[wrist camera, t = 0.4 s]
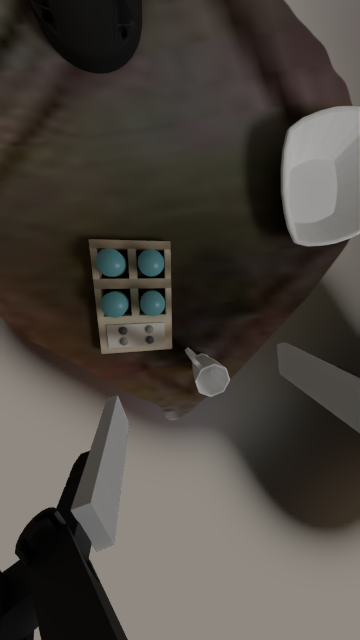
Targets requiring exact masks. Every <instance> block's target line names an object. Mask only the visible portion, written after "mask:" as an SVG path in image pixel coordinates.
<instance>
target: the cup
mask: <svg viewBox="0 0 360 640" xmlns="http://www.w3.org/2000/svg"><path fill="white" fill-rule="evenodd" d="M185 352H186V354H187V355H188V357H189V358H190V359H191V360H192V364H193V373H194V379H195V383H196V385H197V388H198V391H199V393H201V394H204V395H207V396H210V397H212V396H214V395H216V394H219V393H221V392H223V391H224V390H225V388H226V386H227V384H228V382H229V381H230V378H229V375H228V372H227V368H225V367H224V366H223V365H221V364H220V363H218V362H217V361H216V360H214V359H212V358H210V357H209V356H208V355H205V354H203V353H201V354H198V355H196V354H195V353H194V352H193V351H192V350H191V349H189V348H188V347H187V348H186V349H185Z"/></svg>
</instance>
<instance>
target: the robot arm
mask: <svg viewBox="0 0 360 640" xmlns="http://www.w3.org/2000/svg"><path fill="white" fill-rule="evenodd" d="M28 1H29V3H30V5H31V8H32V10H33V12H34V15H35V17H36V19H37V21H38V23H39V25H40V27H41V29H42V31H43V33H44V34H45V36H46V37H47V39H48V40H49V42H50V43H51V44H52V45H53V47H54V48H55V49H56V50H57V51H58V52H59V53H60V54H61V55H62V56H63V57H64V58H65V59H67V60H68V61H69V62H71V63H72V64H74V65H76V66H77V67H79V68H81V69H84V70H86V71H90V72H94V73H108V72H112V71H115V70H117V69H119V68H121V67H123V66H124V65H125V64H126V63H127V62H128V61H129V60H130V59H131V57H132V56H133V54H134V53H135V51H136V49H137V46H138V44H139V40H140V36H141V30H142V0H28ZM277 351H278V362H279V372H280V374H281V375H282V376H284V377H285V378H286V379H288V380H289V381H291V382H292V383H293V384H294V385H296V386H297V387H298V388H300V389H301V390H302V391H304V392H305V393H306V394H308V395H309V396H310V397H312V398H313V399H315V400H316V401H317V402H319V403H320V404H321V405H323V406H324V407H325V408H327V409H328V410H329V411H331V412H332V413H333V414H335V415H336V416H337V417H339V418H340V419H341V420H343V421H344V422H345V423H347V424H348V425H350V426H351V427H352V428H354V429H355V430H356V431H358V432H359V433H360V374H358V373H357V372H355V371H353V370H351V369H349V368H345V367H342V366H333V365H331V364H329V363H327V362H325V361H323V360H321V359H319V358H317V357H314V356H313V355H310V354H308V353H306V352H304V351H302V350H300V349H298V348H296V347H294V346H292V345H290V344H288V343H286V342H284V343H281V344H278V345H277ZM128 429H129V422H128V420H127V418H126V415H125V412H124V410H123V408H122V405H121V403H120V400H119V397H118V395H117V396H113V397H110V398H107V401H106V404H105V407H104V410H103V413H102V416H101V419H100V422H99V425H98V428H97V431H96V434H95V437H94V440H93V444H92V447H91V450H90V451H88V452H85V453H82V454H81V455H80V456H79V457H78V459H77V460H76V462H75V463H74V465H73V467H72V470H71V472H70V477H69V478H68V480H67V483H66V486H65V488H64V490H63V493H62V495H61V498H60V500H59V503H58V506H57V508H54V507H52V508H47V509H45V510H43V511H41V512H40V513H39V514H37V515H36V516H35V517H34V518H33V519H32V520H31V521H30V522H29V523H28V524H27V525H26V527H25V528H24V530H23V532H22V533H21V535H20V537H19V539H18V541H17V544H16V549H15V554H16V555H17V556H18V557H19V559H20V560H19V561H17V562H16V563H15V564H13V565H12V566H11V567H9V568H8V569H6V570H5V571H4V572H1V571H0V640H34V630H35V629H36V628H37V627H38V626H39V631H40V636H41V640H128V639H127V637H126V635H125V633H124V631H123V629H122V627H121V625H120V622H119V620H118V618H117V616H116V614H115V612H114V610H113V608H112V606H111V604H110V601H109V599H108V597H107V595H106V593H105V591H104V589H103V587H102V584H101V582H100V580H99V578H98V576H97V574H96V572H95V570H94V568H93V565H92V563H91V561H90V560H89V553H90V548H91V544H92V546H93V547H94V549H95V551H96V552H97V551H100V550H102V549H105V548H107V547H110V546H112V545H114V541H115V533H116V525H117V517H118V509H119V501H120V493H121V484H122V477H123V469H124V460H125V453H126V445H127V437H128Z"/></svg>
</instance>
